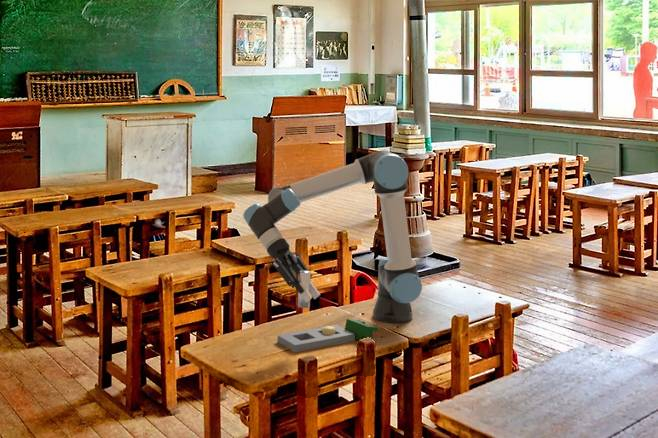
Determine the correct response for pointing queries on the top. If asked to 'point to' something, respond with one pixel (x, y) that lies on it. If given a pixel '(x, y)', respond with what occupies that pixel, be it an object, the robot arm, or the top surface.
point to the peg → (305, 279)
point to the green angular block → (360, 328)
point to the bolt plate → (315, 338)
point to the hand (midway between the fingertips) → (313, 298)
